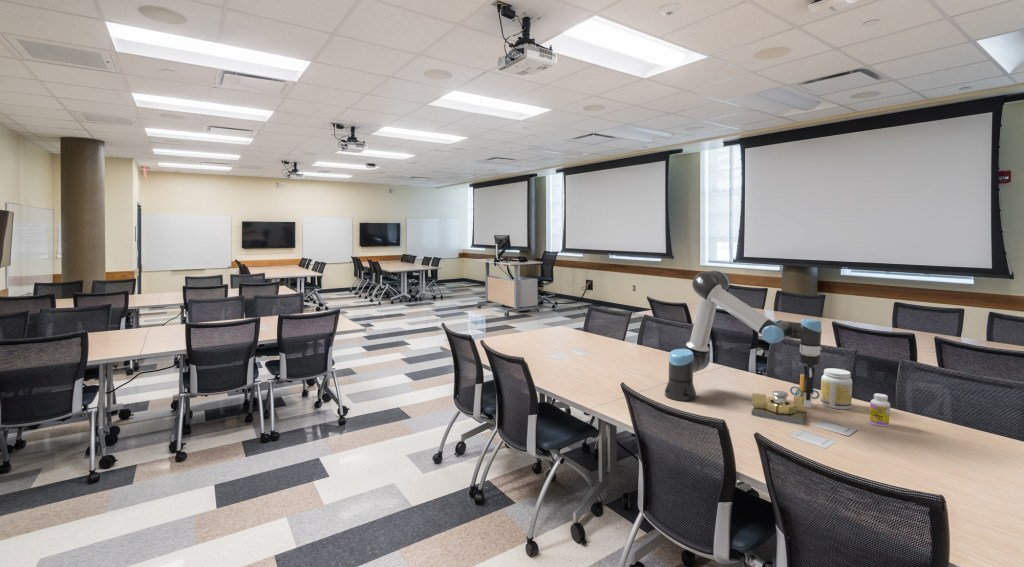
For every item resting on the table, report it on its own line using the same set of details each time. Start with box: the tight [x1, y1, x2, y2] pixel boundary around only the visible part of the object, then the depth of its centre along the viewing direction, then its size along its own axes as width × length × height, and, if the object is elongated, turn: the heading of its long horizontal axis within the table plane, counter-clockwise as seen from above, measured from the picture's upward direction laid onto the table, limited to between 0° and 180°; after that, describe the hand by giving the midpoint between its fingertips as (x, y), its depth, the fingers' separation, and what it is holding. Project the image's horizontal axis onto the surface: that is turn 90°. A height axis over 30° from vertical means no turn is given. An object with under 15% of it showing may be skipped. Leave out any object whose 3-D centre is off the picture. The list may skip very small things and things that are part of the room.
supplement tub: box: [820, 367, 853, 410], centre depth 221 cm, size 12×12×17 cm
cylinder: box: [789, 373, 821, 409], centre depth 221 cm, size 12×10×15 cm
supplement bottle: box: [868, 392, 891, 428], centre depth 199 cm, size 7×7×13 cm
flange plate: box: [750, 390, 808, 426], centre depth 212 cm, size 20×18×10 cm
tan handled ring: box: [752, 392, 809, 414], centre depth 212 cm, size 22×12×6 cm, turn 74°
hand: (807, 406), depth 206 cm, fingers closed
